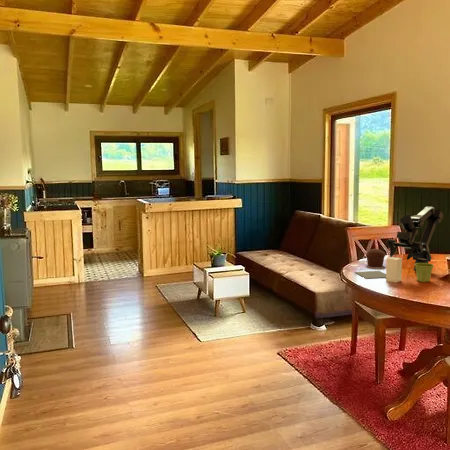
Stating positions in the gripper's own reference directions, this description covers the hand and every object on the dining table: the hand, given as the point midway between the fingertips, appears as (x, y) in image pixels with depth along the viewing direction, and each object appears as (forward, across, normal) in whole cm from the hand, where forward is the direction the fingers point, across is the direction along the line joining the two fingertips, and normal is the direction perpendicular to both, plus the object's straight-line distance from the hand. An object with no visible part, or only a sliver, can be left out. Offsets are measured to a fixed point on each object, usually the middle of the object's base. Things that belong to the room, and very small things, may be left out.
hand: (398, 258), depth 239 cm
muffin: (-8, -27, +25) cm, 37 cm away
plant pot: (+4, +11, +12) cm, 17 cm away
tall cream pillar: (+12, 0, +5) cm, 12 cm away
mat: (+9, -14, +7) cm, 18 cm away
